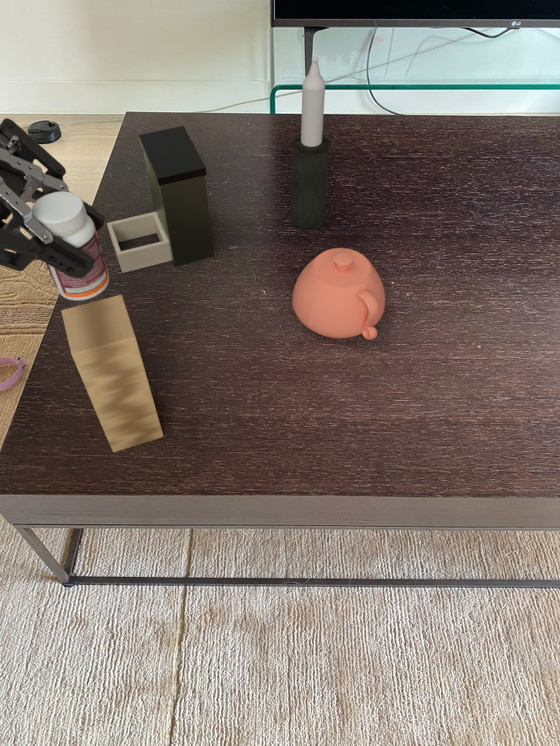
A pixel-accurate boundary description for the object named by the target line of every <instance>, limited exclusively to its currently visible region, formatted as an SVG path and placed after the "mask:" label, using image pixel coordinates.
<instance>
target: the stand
mask: <svg viewBox="0 0 560 746" xmlns="http://www.w3.org/2000/svg"><path fill="white" fill-rule="evenodd" d="M60 312H61V316H62V320H63V324H64V329H65V333H66V337H67V342H68V346H69V350H70V355H71V357H72V359H73V362H74V364H75V367H76V369H77V371H78V374H79V375H80V378H81V381H82V382H83V385H84V388H85V390H86V392H87V395H88V398H89V400H90V401H91V404H92V406H93V409H94V412H95V413H96V416H97V418H98V420H99V423H100V425H101V428H102V430H103V432H104V435H105V437H106V439H107V442H108V444H109V446H110V448H111V452H112V453H117V452H120V451H123V450H126V449H129V448H133V447H135V446H139V445H142V444H145V443H148V442H151V441H155V440H158V439H160V438H164V433H163V429H162V425H161V422H160V419H159V415H158V411H157V408H156V404H155V400H154V398H153V394H152V391H151V387H150V382H149V379H148V376H147V373H146V369H145V365H144V361H143V358H142V355H141V350H140V348H139V344H138V341H137V337H136V334H135V330H134V328H133V324H132V322H131V319H130V315H129V313H128V309H127V306H126V303H125V301H124V297H123V294H118V295H113V296H110V297H107V298H103V299H99V300H95V301H91V302H87V303H83V304H79V305H75V306H72V307H69V308H65V309H61V310H60Z"/></svg>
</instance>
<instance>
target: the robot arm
mask: <svg viewBox="0 0 560 746" xmlns="http://www.w3.org/2000/svg"><path fill="white" fill-rule="evenodd" d="M35 160H36V161H37V162H39V163H40V165H42V166H43V168H45V169H47V170H46V171H45V173H44V172H43V168H42V167H41V166H40V165H37V164H36V163H34V161H35ZM66 173H67V170H66V168H65V167H64V166H63V164H62V163H60V162H59V161H58V160H57V159H56V158H55V157H54V156H53V155H51V154H50V152H48V150H46V149H45V148H44V147H42V145H40V144H39V143H38V142H37V141H36V140H35V139H34V138H32V137H31V136H30V134H29V133H28V132H26V131H25V130H24V129H23V128H21V127H20V125H19V124H17V123H16V121H14V120H12V118H11V119H10V118H3V120H2V121H1V122H0V266H2V267H5V268H8V269H10V270H13V271H17V272H23V271H24V270H25V269H26V268H27V267H28V266H29V265H31V263H33V262H34V261H41V262H43V263H45V264H46V263H47V264H48V265H50V266H52V267H54V268H55V269H57V270H59V271H61V272H62V273H64V274H66V275H68V276H69V277H73V278H84V277H85V276H86V275H87V274H88V273H89V272H90V271H91V270H92V269H93V265H94V259H93V258H92V257H90V256H89V255H87V254H86V253H84V252H82V251H81V250H79V249H77V248H76V247H74V246H72V245H71V244H69V243H67V242H66V241H64V240H63V239H61V238H59V237H58V236H56V235H55V236H54V237H52V235H51V234H50V233H49V232H48V231H47V230H46V229H45V228H44V227H43V226H42V225H41V224H40V223H39V222H38V221H37V220H36V219H34V217H33V215H32V214H33V212H32V207H30V206H29V205H28V204H27V203H32V204H34V203H35V202H36V201H37V200H38V199H40V198H41V197H43V196H45V195H47V194H50V193H54V192H70V190H69V186H68V184H67V183H66V182H65V180H64V176H65V175H66ZM40 189H41V190H40ZM82 201H83V203H84V206H85V209H86V212H87V215H88V216H89V217H90V218H91V219H92V221H93V223H94V225H95V228H96V232H97V233H98V232H99V231H100V230H101V229H102V228H103V226H104V224H105V219H106V218H105V216H104V215H103V214H102V213H100V212H99V211H98V210H97V209H96V208H95V207H94V206H92V205H90V204H89V203H88V202H86V201H85V200H83V199H82ZM10 216H12V217H11V218H10V219H9V221H8V222H5V221H7V220H8V218H9V217H10ZM3 220H4V221H3ZM21 229H23V230H24V231H25V232H26V233H27V234H28V235H29V236H31V238H28V237H27V235H26V234H24V233H23V232H22V231H21Z"/></svg>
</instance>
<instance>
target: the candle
mask: <svg viewBox="0 0 560 746" xmlns="http://www.w3.org/2000/svg"><path fill="white" fill-rule="evenodd" d="M318 62H319V57H318V56H317V55H313V56H312V57H311V64H310V67H309V70H308V74H307V76H305V77H304V80H303V81H302V89H301V91H302V93H301V119H300V120H301V121H300V133H299V134H297V135H296V136H295V137H294V138H293V142H292V149H291V187H290V188H291V191H290V193H291V194H290V197H291V198H290V225H291V227H293V228H296V229H305V230H320V229H322V228H323V227H324V224H325V213H326V199H327V188H328V187H327V186H328V174H329V173H328V172H329V158H330V146H331V145H330V144H331V141H330V138H329V137H328V136H326V135H325V134H323V131H324V130H323V129H324V112H325V97H326V96H325V95H326V82H325V80H324V78H323V77H322V76H323V75H321V70H320V67H319V64H318Z"/></svg>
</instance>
